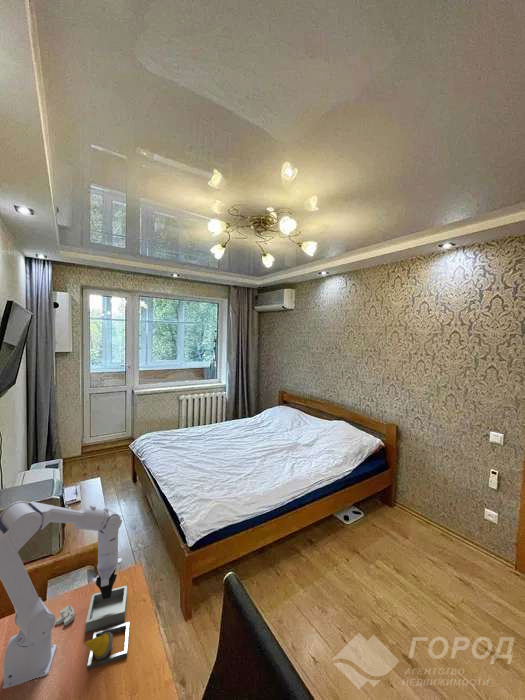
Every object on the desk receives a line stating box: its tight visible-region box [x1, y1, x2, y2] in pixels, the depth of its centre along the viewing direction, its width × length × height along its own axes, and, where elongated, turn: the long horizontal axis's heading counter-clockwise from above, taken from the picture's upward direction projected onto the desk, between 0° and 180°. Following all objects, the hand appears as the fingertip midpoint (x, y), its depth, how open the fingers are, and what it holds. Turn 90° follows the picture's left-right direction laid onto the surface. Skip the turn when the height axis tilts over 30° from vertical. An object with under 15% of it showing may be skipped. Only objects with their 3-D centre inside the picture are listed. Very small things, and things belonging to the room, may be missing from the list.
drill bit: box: [84, 632, 114, 660], centre depth 80 cm, size 5×5×10 cm
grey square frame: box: [86, 621, 130, 671], centre depth 83 cm, size 10×10×2 cm
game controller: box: [55, 603, 90, 626], centre depth 94 cm, size 6×12×3 cm, turn 155°
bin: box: [84, 584, 128, 634], centre depth 93 cm, size 11×11×4 cm
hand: (108, 590), depth 93 cm, fingers open, 5 cm apart
